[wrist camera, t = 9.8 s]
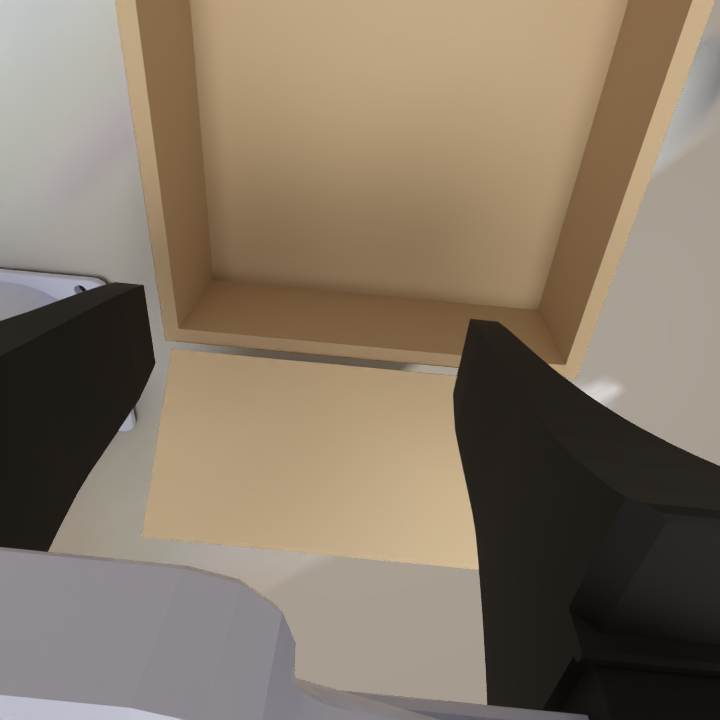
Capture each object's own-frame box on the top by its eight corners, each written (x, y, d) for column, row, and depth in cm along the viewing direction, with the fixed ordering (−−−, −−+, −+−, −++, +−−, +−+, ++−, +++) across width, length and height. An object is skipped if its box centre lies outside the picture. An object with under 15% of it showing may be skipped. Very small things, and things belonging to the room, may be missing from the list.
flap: (171, 349, 17) (175, 351, 18) (141, 537, 16) (146, 534, 17) (568, 386, 17) (563, 387, 18) (564, 577, 16) (559, 574, 17)
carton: (205, 285, 21) (165, 340, 18) (150, -309, 13) (48, -450, 9) (544, 316, 21) (576, 378, 18) (718, -260, 13) (854, -382, 9)
